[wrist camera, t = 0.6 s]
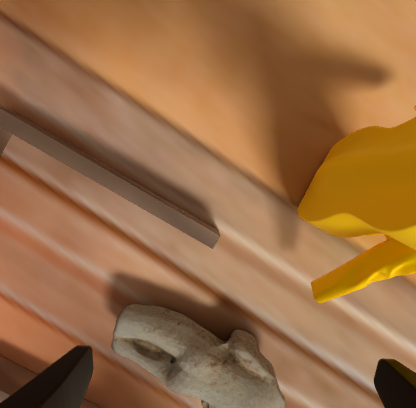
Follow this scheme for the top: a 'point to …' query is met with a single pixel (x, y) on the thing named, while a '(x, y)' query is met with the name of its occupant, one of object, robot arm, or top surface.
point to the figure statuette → (367, 205)
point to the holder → (99, 172)
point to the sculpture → (197, 358)
